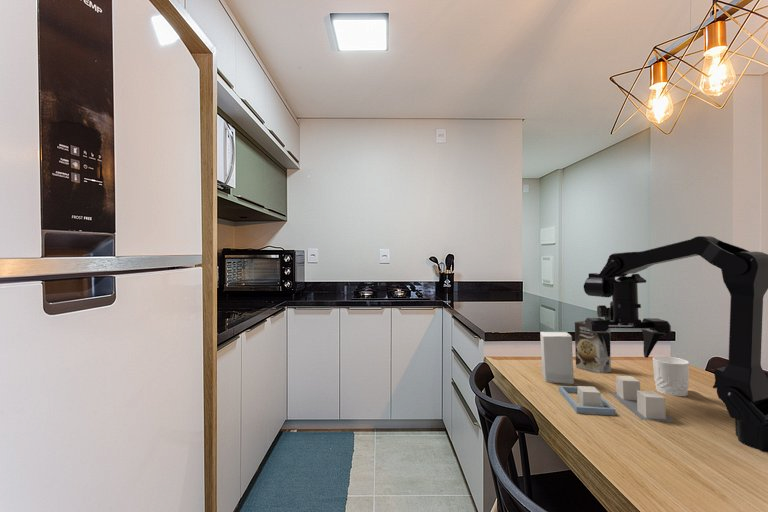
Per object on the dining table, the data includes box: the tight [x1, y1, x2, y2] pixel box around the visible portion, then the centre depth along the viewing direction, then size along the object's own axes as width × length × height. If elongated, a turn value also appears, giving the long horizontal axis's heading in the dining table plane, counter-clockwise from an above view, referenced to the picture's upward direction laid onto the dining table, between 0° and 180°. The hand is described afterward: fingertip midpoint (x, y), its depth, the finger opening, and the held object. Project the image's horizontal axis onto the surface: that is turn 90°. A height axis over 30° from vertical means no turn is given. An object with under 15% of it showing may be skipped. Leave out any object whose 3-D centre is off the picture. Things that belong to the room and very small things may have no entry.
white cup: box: [652, 355, 690, 397], centre depth 97 cm, size 8×8×10 cm
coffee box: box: [574, 320, 612, 374], centre depth 121 cm, size 9×6×16 cm
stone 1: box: [576, 385, 602, 407], centre depth 88 cm, size 4×4×5 cm
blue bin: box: [558, 385, 616, 416], centre depth 91 cm, size 15×9×3 cm, turn 169°
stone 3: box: [637, 390, 667, 419], centre depth 83 cm, size 4×4×5 cm
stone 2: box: [615, 375, 641, 400], centre depth 94 cm, size 4×4×5 cm
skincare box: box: [539, 331, 575, 385], centre depth 108 cm, size 8×7×16 cm
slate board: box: [608, 391, 676, 423], centre depth 88 cm, size 17×7×1 cm, turn 169°
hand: (626, 356), depth 94 cm, fingers open, 9 cm apart
